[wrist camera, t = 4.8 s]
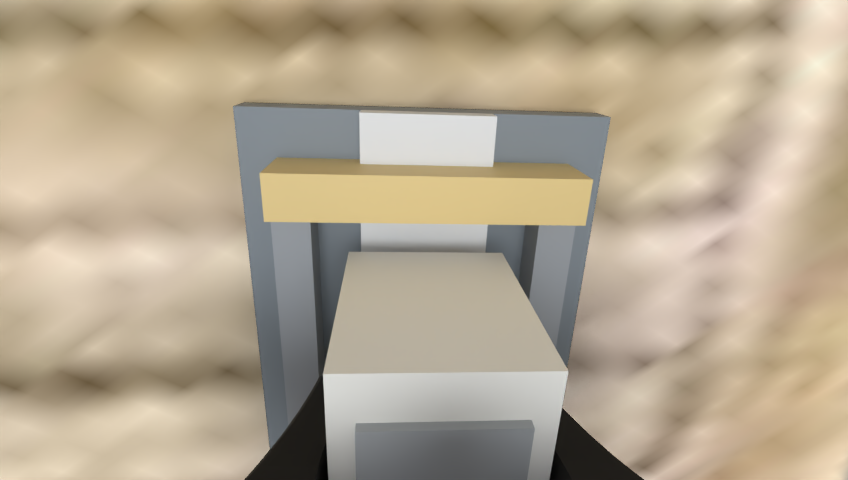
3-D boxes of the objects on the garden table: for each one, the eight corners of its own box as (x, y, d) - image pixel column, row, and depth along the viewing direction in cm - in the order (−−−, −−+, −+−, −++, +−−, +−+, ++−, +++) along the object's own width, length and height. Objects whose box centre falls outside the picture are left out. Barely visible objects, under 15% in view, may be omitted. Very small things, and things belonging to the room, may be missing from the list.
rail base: (536, 473, 19) (560, 540, 16) (281, 480, 18) (263, 552, 16) (595, 112, 14) (643, 126, 11) (244, 102, 13) (207, 114, 10)
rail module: (481, 456, 15) (524, 647, 10) (353, 459, 15) (335, 657, 10) (502, 252, 12) (572, 378, 8) (348, 251, 12) (321, 382, 7)
